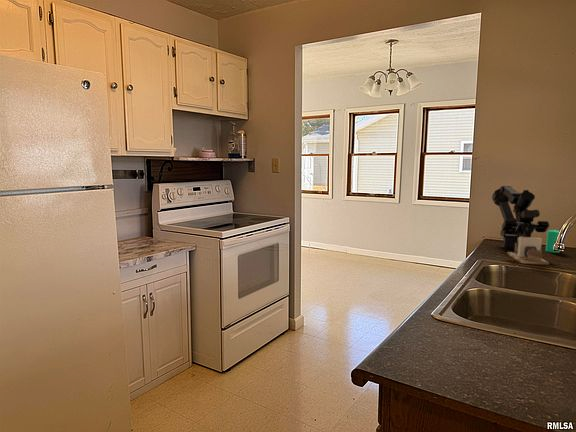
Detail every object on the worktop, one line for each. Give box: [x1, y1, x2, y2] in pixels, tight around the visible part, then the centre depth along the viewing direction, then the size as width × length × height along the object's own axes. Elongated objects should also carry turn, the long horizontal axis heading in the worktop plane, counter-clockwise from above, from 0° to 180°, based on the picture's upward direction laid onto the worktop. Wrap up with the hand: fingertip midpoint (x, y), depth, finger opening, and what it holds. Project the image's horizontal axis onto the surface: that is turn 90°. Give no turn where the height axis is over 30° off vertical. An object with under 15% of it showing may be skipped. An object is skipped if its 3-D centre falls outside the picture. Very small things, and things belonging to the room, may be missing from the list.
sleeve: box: [517, 236, 543, 257], centre depth 179 cm, size 3×9×9 cm, turn 79°
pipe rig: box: [507, 242, 550, 266], centre depth 182 cm, size 18×11×6 cm, turn 169°
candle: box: [545, 229, 561, 254], centre depth 198 cm, size 6×6×12 cm
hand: (528, 240), depth 181 cm, fingers closed, pressing on sleeve
